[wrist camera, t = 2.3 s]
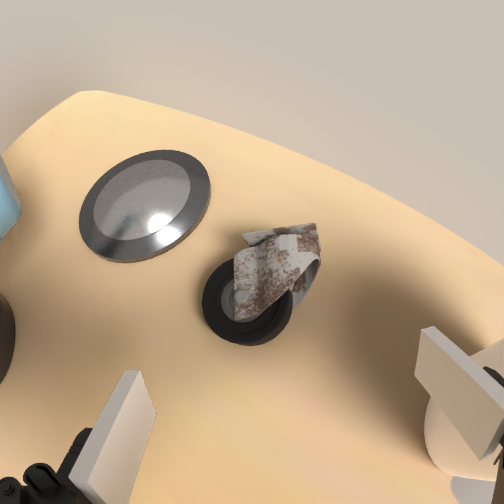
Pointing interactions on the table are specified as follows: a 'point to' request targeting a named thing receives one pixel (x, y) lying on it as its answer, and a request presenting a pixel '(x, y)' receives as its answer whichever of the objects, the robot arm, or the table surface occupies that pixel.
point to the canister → (449, 439)
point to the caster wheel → (262, 284)
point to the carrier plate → (145, 206)
